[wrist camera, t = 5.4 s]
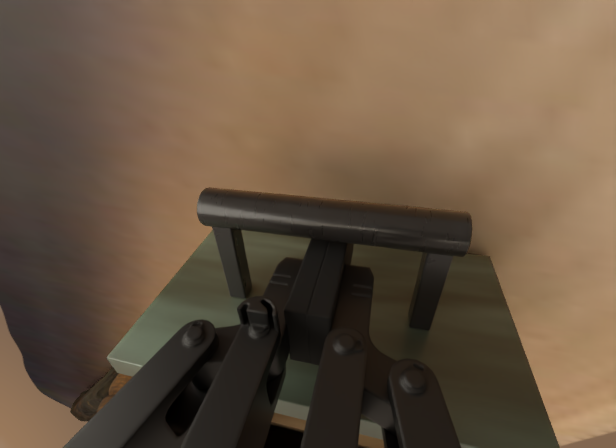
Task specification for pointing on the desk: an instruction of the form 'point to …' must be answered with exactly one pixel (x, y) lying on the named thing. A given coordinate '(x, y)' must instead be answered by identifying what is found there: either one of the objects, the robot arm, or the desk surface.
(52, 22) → the desk surface
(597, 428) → the desk surface
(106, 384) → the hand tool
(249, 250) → the drawer
